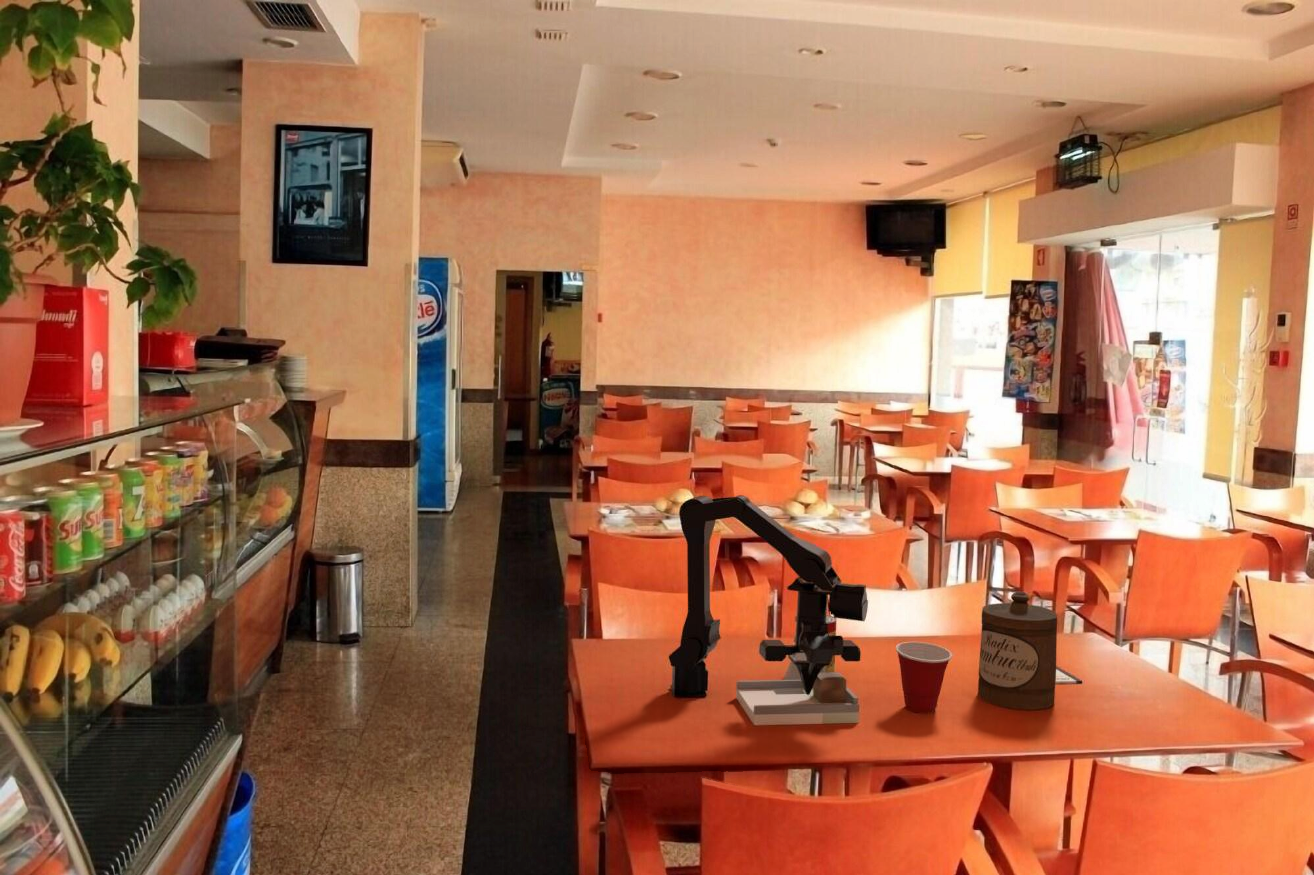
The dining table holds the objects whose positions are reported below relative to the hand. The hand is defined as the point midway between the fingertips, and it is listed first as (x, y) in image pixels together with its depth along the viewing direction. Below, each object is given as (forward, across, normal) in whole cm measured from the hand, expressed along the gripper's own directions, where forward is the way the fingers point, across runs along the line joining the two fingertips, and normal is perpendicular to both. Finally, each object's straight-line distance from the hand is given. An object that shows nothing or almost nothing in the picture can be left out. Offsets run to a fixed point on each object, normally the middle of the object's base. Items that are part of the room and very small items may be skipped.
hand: (807, 694), depth 217 cm
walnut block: (+1, +4, 0) cm, 5 cm away
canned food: (+3, +9, +24) cm, 26 cm away
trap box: (+3, -2, 0) cm, 4 cm away
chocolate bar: (+3, +60, +22) cm, 64 cm away
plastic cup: (+3, +23, -1) cm, 23 cm away
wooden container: (+3, +45, +4) cm, 45 cm away
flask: (+3, +4, +18) cm, 19 cm away
